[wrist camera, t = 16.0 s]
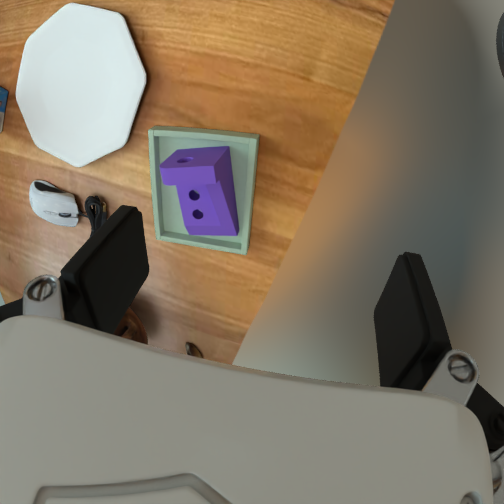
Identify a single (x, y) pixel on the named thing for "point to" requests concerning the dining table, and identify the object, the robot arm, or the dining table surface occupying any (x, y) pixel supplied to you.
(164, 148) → the shallow tray
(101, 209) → the computer mouse
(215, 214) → the bracket
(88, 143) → the plate
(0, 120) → the ink box
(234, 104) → the dining table surface
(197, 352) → the oyster shell
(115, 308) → the robot arm
